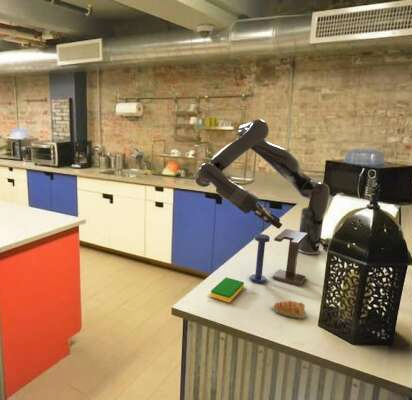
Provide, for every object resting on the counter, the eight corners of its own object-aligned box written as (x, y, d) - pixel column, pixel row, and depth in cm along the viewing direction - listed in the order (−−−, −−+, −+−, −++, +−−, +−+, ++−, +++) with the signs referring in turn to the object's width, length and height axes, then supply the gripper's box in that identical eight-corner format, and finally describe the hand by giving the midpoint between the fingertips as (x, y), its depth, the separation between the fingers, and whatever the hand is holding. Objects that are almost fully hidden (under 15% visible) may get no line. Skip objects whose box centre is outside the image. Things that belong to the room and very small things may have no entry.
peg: (253, 275, 148) (257, 232, 143) (267, 279, 144) (272, 235, 140) (248, 280, 143) (252, 236, 139) (262, 284, 140) (267, 239, 136)
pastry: (274, 315, 119) (275, 304, 118) (272, 305, 125) (273, 295, 125) (305, 320, 117) (307, 309, 116) (302, 309, 123) (303, 299, 122)
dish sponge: (243, 288, 137) (244, 282, 137) (229, 303, 127) (229, 296, 126) (225, 282, 141) (226, 276, 141) (210, 296, 131) (210, 290, 130)
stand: (279, 271, 151) (284, 227, 147) (305, 278, 145) (311, 232, 141) (266, 284, 140) (271, 237, 135) (294, 293, 134) (300, 243, 129)
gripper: (248, 193, 132) (288, 219, 129) (248, 189, 146) (284, 212, 143) (236, 210, 134) (274, 236, 132) (236, 204, 148) (272, 228, 145)
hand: (279, 224), depth 137 cm, fingers open, 8 cm apart
